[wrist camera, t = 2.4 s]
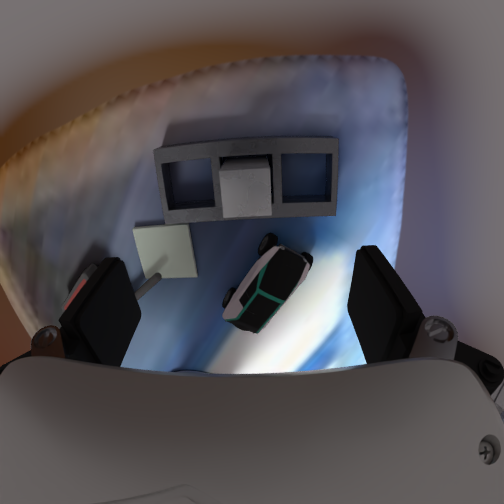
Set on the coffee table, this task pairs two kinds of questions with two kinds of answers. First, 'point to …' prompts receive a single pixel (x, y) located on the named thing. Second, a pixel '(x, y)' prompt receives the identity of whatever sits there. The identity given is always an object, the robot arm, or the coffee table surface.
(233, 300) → the toy car
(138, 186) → the coffee table surface
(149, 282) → the walkie-talkie
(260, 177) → the steel block
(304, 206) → the grey flat frame
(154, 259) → the sage mat
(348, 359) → the coffee table surface
